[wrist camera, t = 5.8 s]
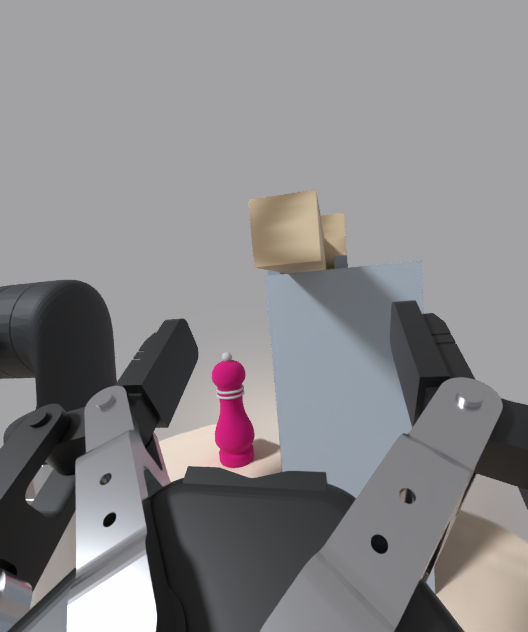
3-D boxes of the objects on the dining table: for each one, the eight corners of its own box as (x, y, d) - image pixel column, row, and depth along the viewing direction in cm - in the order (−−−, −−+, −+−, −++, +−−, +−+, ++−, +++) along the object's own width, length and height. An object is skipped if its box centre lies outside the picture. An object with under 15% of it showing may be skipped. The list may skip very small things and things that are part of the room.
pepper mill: (241, 444, 62) (231, 346, 60) (264, 457, 57) (254, 350, 55) (210, 459, 58) (198, 354, 56) (231, 475, 52) (219, 359, 50)
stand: (291, 576, 33) (264, 263, 30) (301, 504, 44) (282, 268, 41) (435, 594, 30) (420, 246, 27) (408, 512, 40) (395, 256, 37)
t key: (216, 271, 17) (205, 161, 17) (282, 277, 41) (278, 231, 40) (364, 255, 16) (357, 132, 15) (345, 271, 39) (342, 223, 38)
